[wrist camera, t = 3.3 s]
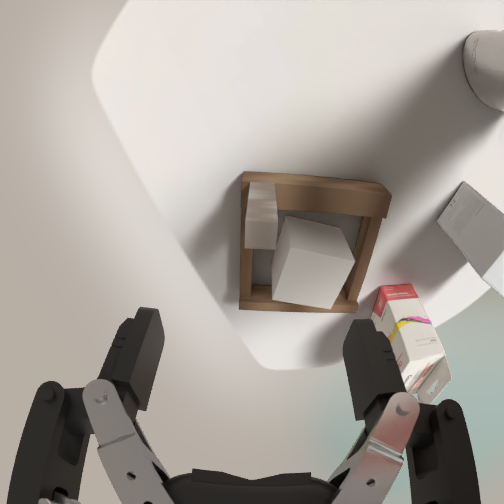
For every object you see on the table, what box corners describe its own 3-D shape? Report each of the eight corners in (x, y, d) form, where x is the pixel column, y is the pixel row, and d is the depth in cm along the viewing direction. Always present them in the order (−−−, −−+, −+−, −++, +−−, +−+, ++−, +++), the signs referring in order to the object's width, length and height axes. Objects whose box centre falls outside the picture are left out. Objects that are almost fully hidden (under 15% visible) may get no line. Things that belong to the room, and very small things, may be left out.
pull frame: (381, 183, 26) (427, 234, 17) (350, 296, 34) (369, 361, 25) (243, 171, 26) (233, 220, 18) (240, 292, 34) (234, 361, 26)
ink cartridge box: (378, 284, 33) (417, 385, 21) (411, 282, 33) (457, 375, 20) (364, 330, 38) (388, 422, 25) (394, 327, 37) (424, 413, 25)
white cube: (285, 214, 28) (290, 247, 23) (340, 227, 29) (355, 260, 24) (270, 262, 32) (272, 300, 27) (321, 272, 32) (330, 309, 27)
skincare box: (433, 223, 28) (480, 280, 19) (463, 179, 25) (521, 225, 16) (473, 257, 30) (513, 308, 21) (499, 220, 27) (545, 267, 18)
